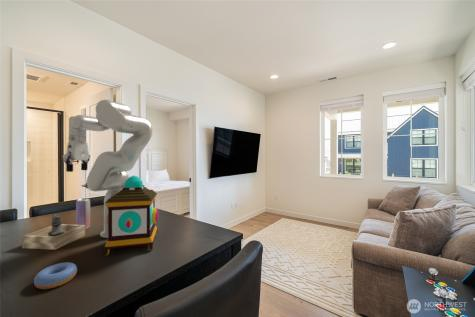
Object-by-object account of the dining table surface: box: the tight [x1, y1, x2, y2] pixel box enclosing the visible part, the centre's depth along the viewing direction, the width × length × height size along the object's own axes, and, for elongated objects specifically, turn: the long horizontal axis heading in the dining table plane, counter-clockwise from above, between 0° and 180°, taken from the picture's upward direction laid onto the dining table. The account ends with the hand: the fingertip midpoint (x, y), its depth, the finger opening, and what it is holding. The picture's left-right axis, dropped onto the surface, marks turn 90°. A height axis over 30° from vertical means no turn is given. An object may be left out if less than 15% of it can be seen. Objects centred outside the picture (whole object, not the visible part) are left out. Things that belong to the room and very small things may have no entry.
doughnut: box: [33, 261, 78, 290], centre depth 62 cm, size 10×10×5 cm
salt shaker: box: [48, 212, 65, 236], centre depth 90 cm, size 6×6×12 cm
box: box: [21, 223, 86, 250], centre depth 90 cm, size 15×15×5 cm
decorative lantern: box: [103, 175, 159, 256], centre depth 87 cm, size 20×20×30 cm
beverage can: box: [75, 197, 91, 230], centre depth 107 cm, size 6×6×15 cm
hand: (77, 170), depth 111 cm, fingers open, 9 cm apart
